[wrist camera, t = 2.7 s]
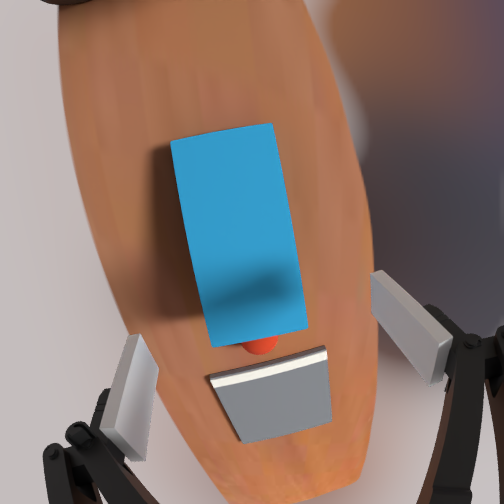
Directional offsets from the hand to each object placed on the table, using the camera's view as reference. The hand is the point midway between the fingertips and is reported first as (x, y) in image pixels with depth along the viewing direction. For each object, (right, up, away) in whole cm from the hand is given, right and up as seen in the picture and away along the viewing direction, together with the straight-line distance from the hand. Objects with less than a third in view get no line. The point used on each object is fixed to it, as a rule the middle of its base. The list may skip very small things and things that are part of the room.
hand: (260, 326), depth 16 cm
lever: (-1, +4, +9) cm, 10 cm away
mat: (+3, -13, +16) cm, 21 cm away
